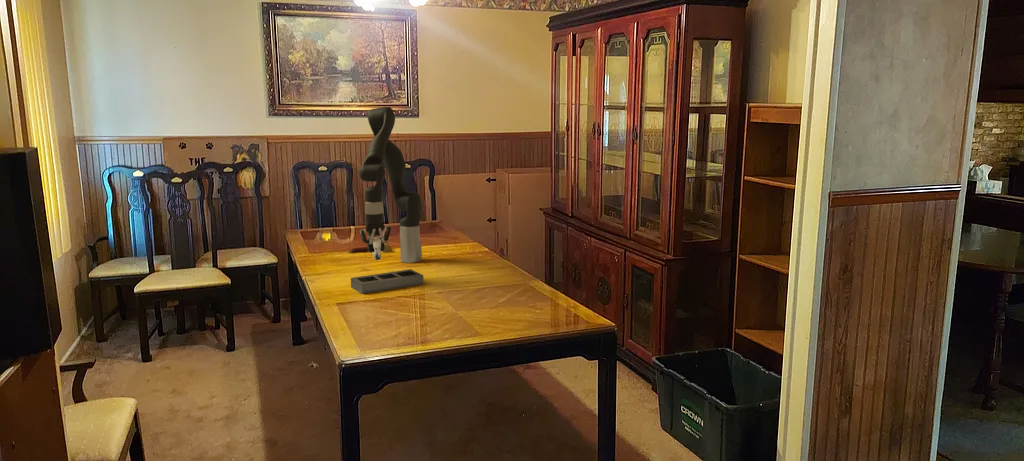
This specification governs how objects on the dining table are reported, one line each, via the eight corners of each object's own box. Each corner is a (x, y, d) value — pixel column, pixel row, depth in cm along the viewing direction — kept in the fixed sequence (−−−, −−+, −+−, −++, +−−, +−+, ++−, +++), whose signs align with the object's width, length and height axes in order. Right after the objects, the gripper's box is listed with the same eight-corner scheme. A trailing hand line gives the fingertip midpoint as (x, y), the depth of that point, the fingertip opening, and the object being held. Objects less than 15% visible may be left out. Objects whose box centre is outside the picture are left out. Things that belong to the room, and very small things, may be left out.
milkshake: (370, 258, 299) (368, 235, 297) (383, 257, 300) (381, 234, 298) (369, 260, 295) (367, 237, 293) (382, 260, 296) (380, 237, 293)
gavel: (348, 249, 346) (346, 245, 355) (349, 258, 346) (347, 254, 356) (390, 243, 351) (387, 240, 361) (391, 252, 352) (388, 248, 362)
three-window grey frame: (411, 278, 301) (410, 269, 301) (423, 284, 292) (423, 275, 291) (351, 287, 287) (350, 277, 286) (362, 294, 277) (361, 284, 276)
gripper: (386, 209, 300) (388, 247, 304) (354, 212, 293) (356, 252, 296) (393, 211, 294) (395, 251, 298) (361, 215, 287) (363, 255, 290)
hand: (376, 251), depth 297 cm, fingers closed on milkshake, 4 cm apart
